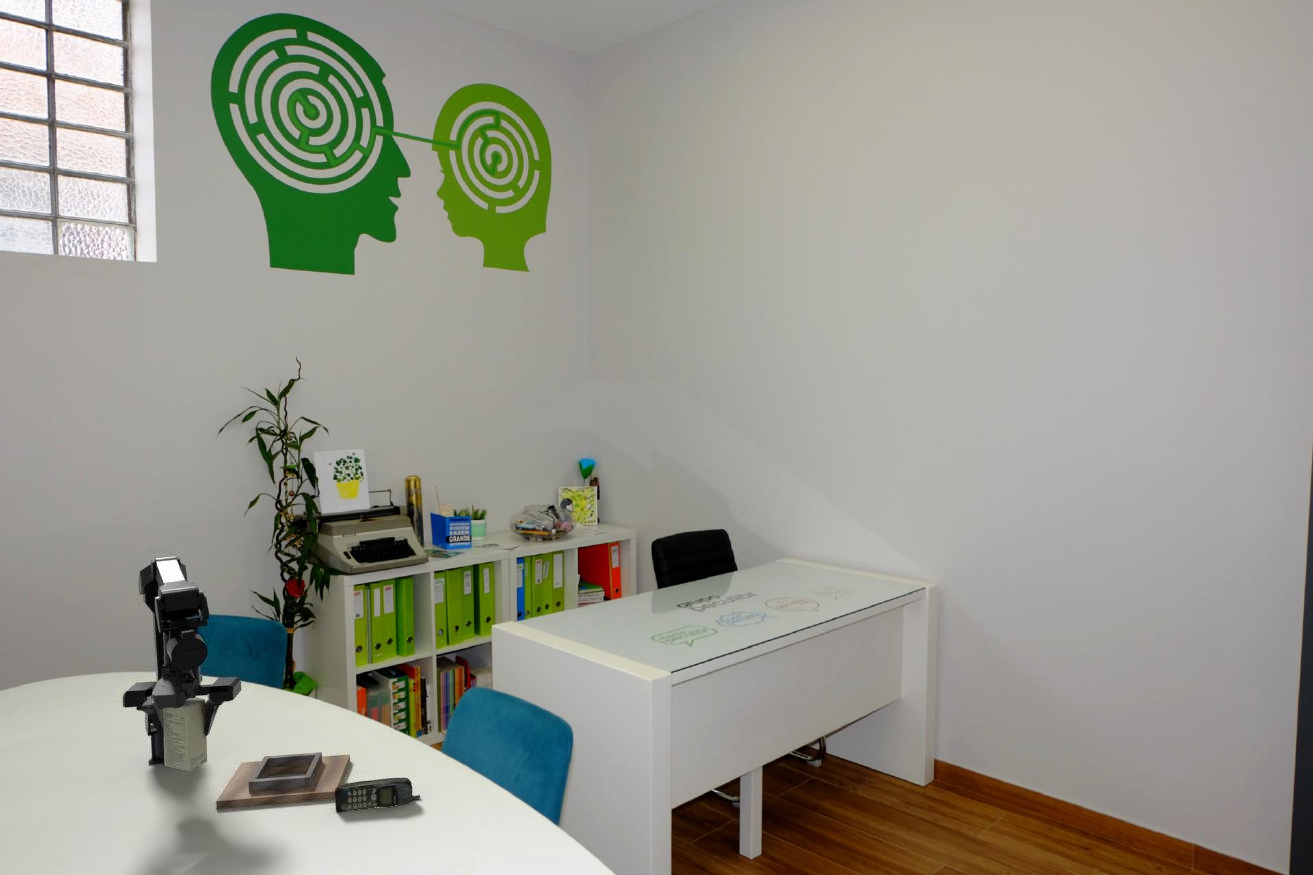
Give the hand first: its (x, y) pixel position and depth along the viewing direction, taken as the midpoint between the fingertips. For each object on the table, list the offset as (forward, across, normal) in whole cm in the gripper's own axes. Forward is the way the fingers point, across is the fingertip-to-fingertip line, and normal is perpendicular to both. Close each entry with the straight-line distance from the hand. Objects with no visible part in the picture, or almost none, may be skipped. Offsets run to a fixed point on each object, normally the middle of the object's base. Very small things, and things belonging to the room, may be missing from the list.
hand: (185, 736), depth 160 cm
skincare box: (+6, 0, 0) cm, 6 cm away
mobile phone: (+13, +35, -7) cm, 38 cm away
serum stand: (+13, +16, +5) cm, 21 cm away
